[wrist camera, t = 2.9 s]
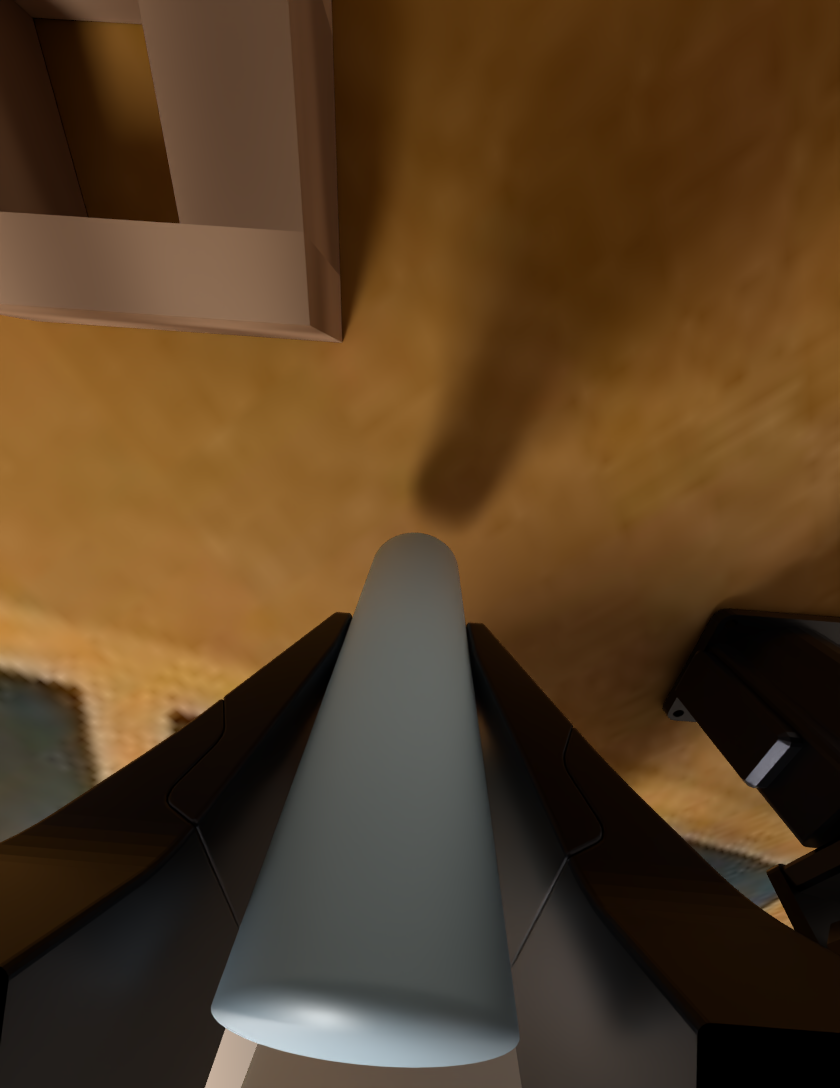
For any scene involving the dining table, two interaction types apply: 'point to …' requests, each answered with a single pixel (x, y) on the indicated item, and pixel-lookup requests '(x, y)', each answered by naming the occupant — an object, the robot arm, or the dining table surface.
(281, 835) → the dowel
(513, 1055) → the jar
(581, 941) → the robot arm
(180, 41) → the socket block
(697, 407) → the dining table surface
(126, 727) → the dining table surface
